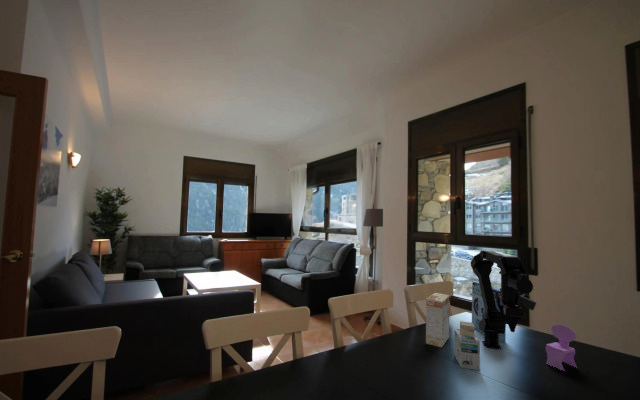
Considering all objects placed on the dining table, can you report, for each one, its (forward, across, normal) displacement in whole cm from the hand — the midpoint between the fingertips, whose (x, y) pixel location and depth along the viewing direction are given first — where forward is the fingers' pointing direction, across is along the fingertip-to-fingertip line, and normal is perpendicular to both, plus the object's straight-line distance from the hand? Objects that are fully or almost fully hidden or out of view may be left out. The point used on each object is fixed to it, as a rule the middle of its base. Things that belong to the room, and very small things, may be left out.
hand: (509, 327), depth 116 cm
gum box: (+13, +30, +3) cm, 33 cm away
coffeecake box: (+13, +10, +26) cm, 31 cm away
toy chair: (+13, +5, -18) cm, 23 cm away
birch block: (+2, -8, +16) cm, 18 cm away
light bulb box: (+13, -8, +16) cm, 22 cm away
